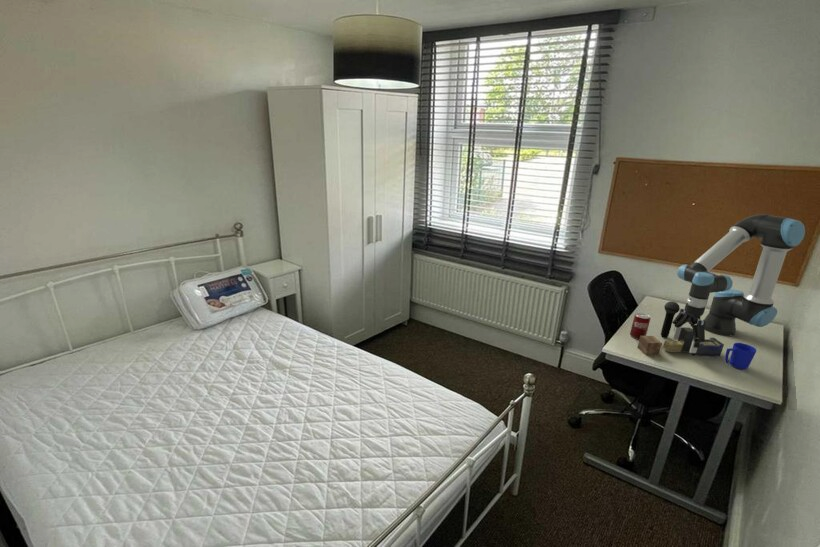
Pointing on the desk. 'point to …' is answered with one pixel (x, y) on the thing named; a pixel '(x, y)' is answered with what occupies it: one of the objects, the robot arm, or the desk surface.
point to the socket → (649, 345)
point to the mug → (740, 355)
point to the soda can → (640, 325)
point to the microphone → (669, 317)
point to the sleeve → (709, 348)
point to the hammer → (683, 341)
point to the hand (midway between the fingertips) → (683, 345)
